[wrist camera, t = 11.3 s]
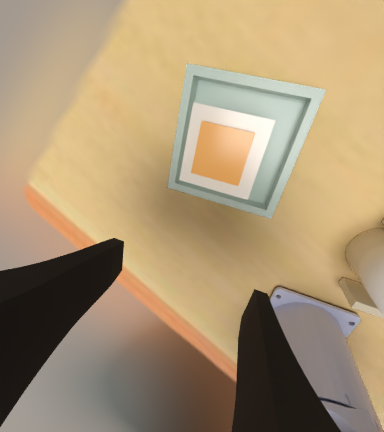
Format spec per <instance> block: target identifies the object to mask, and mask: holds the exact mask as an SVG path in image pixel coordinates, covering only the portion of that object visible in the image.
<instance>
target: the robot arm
mask: <svg viewBox="0 0 384 432" xmlns="http://www.w3.org/2000/svg"><path fill="white" fill-rule="evenodd" d="M123 247H124V241H121V240H118V239H116V238H113V239H109V240H106V241H104V242H101V243H98V244H95V245H93V246H90V247H87V248H84V249H81V250H79V251H76V252H73V253H70V254H67V255H63V256H60V257H57V258H54V259H51V260H47V261H44V262H40V263H36V264H32V265H28V266H23V267H19V268H14V269H8V270H3V271H0V427H1V425H2V424H3V422H4V421H5V419H6V418H7V416H8V415H9V413H10V412H11V410H12V409H13V407H14V406H15V404H16V403H17V401H18V400H19V398H20V397H21V395H22V394H23V392H24V391H25V389H26V388H27V387H28V385H29V384H30V383H31V381H32V380H33V378H34V377H35V376H36V374H37V373H38V371H39V370H40V369H41V367H42V366H43V364H44V363H45V362H46V361H47V359H48V358H49V356H50V355H51V354H52V352H53V351H54V350H55V348H56V347H57V346H58V345H59V343H60V342H61V341H62V339H63V338H64V337H65V336H66V334H67V333H68V332H69V331H70V329H71V328H72V327H73V326H74V325H75V323H76V322H77V321H78V320H79V319H80V318H81V317H82V316H83V315H84V314H85V313H86V312H87V310H88V309H89V308H90V307H91V306H92V305H93V304H94V303H95V302H96V301H97V300H98V299H99V298H100V297H101V296H102V295H103V293H104V292H105V291H106V290H107V289H108V288H109V287H110V286H111V285H112V283H113V282H114V281H115V279H116V278H117V277H118V275H119V274H120V272H121V271H122V262H123ZM276 295H280V296H276ZM360 321H361V319H360V317H359V315H357V314H355V313H352V312H350V311H347V310H344V309H341V308H338V307H336V306H333V305H330V304H327V303H324V302H321V301H319V300H316V299H313V298H310V297H307V296H305V295H302V294H299V293H296V292H293V291H291V290H288V289H285V288H282V287H277V288H276V289H275V290H274V292H273V294H272V296H271V298H270V299H269V296H268V294H266V293H263V292H261V291H258V290H254V292H253V294H252V296H251V298H250V300H249V303H248V305H247V307H246V309H245V311H244V313H243V315H242V318H241V324H240V331H239V338H238V359H237V385H236V401H235V410H234V418H233V426H232V432H384V431H383V429H382V427H381V424H380V422H379V419H378V417H377V414H376V412H375V410H374V407H373V405H372V402H371V400H370V397H369V395H368V393H367V390H366V388H365V385H364V383H363V380H362V378H361V376H360V373H359V371H358V368H357V366H356V363H355V361H354V358H353V356H352V354H351V351H350V349H349V346H348V344H347V341H346V338H347V336H348V335H349V334H350V333H351V332H352V331H353V329H354V328H355V327H356V326H357V325H358V324H359V323H360Z"/></svg>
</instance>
